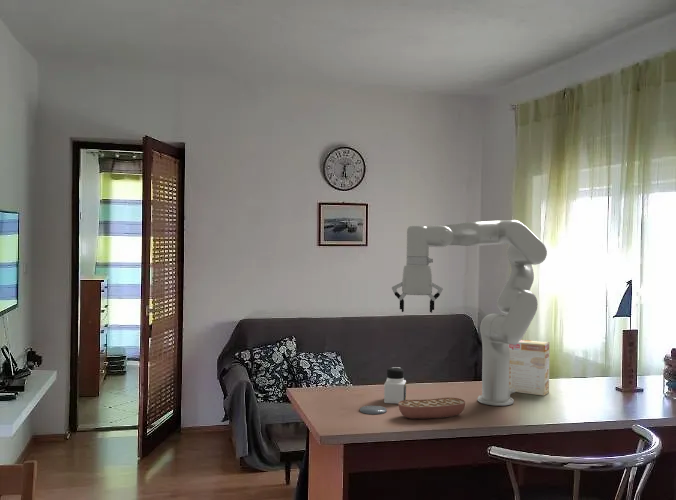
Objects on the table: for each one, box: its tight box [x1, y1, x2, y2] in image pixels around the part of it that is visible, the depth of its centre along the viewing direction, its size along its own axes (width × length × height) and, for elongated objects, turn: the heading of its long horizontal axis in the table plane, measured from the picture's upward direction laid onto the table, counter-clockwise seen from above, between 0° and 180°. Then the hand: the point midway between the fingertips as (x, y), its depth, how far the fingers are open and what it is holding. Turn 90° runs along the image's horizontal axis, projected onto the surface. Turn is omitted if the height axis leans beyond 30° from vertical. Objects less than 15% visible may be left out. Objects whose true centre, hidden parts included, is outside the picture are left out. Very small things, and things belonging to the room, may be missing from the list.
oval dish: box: [397, 397, 466, 420], centre depth 215 cm, size 23×10×5 cm, turn 104°
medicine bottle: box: [383, 366, 407, 405], centre depth 235 cm, size 7×7×12 cm
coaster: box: [359, 405, 387, 415], centre depth 222 cm, size 9×9×1 cm
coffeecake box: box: [508, 339, 550, 397], centre depth 250 cm, size 15×7×20 cm, turn 58°
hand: (416, 311), depth 223 cm, fingers open, 9 cm apart
